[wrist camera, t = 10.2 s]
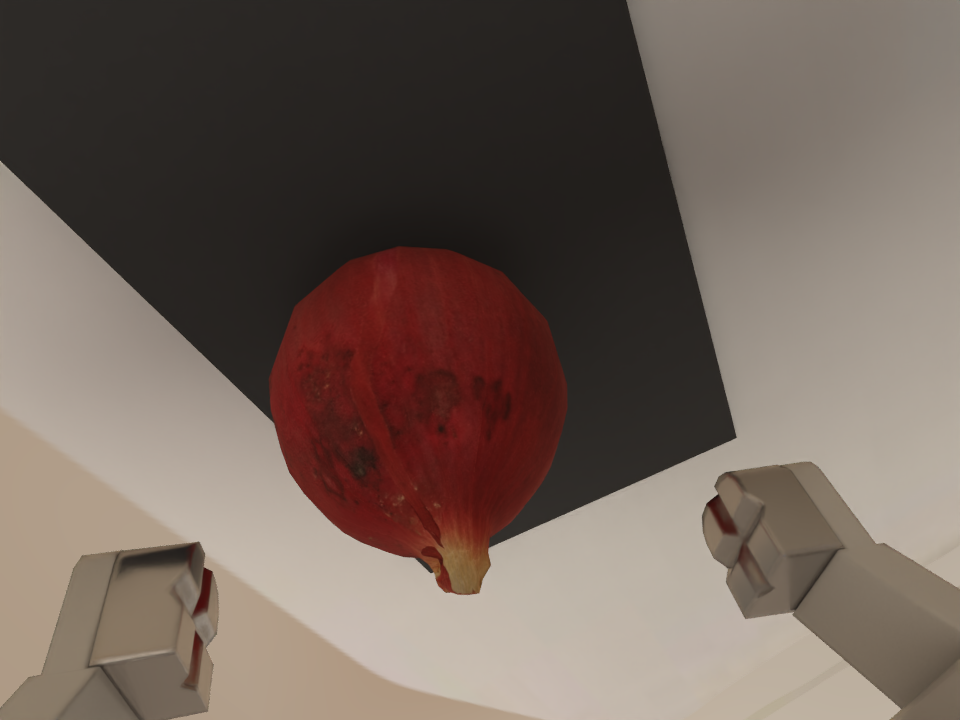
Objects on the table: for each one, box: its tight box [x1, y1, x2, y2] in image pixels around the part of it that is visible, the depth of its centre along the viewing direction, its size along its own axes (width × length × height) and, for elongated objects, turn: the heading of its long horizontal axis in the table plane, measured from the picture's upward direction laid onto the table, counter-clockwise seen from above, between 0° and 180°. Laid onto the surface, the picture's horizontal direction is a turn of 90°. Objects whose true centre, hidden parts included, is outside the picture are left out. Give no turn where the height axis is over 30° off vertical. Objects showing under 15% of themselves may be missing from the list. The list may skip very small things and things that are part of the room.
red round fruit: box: [269, 246, 567, 595], centre depth 13 cm, size 6×6×8 cm
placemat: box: [0, 0, 736, 573], centre depth 16 cm, size 22×12×1 cm, turn 24°
